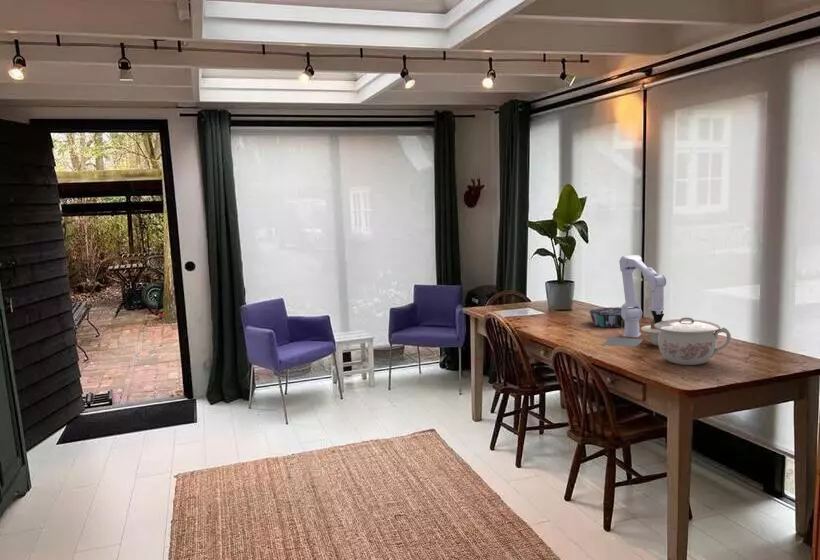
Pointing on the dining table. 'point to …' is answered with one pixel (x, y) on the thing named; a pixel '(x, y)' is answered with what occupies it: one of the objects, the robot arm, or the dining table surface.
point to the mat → (623, 342)
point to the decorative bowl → (607, 317)
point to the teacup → (652, 338)
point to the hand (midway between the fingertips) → (657, 325)
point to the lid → (650, 328)
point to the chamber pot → (689, 340)
